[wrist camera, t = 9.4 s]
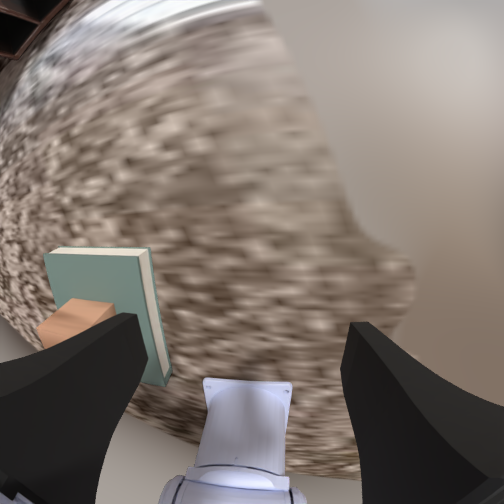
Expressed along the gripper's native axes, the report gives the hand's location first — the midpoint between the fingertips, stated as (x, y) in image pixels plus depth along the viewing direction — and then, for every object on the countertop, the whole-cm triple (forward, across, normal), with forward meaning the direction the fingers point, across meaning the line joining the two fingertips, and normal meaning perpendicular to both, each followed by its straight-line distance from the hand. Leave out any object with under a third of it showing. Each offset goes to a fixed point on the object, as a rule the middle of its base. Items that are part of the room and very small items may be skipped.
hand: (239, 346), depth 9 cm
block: (+8, +13, +6) cm, 16 cm away
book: (+11, +13, +6) cm, 18 cm away
